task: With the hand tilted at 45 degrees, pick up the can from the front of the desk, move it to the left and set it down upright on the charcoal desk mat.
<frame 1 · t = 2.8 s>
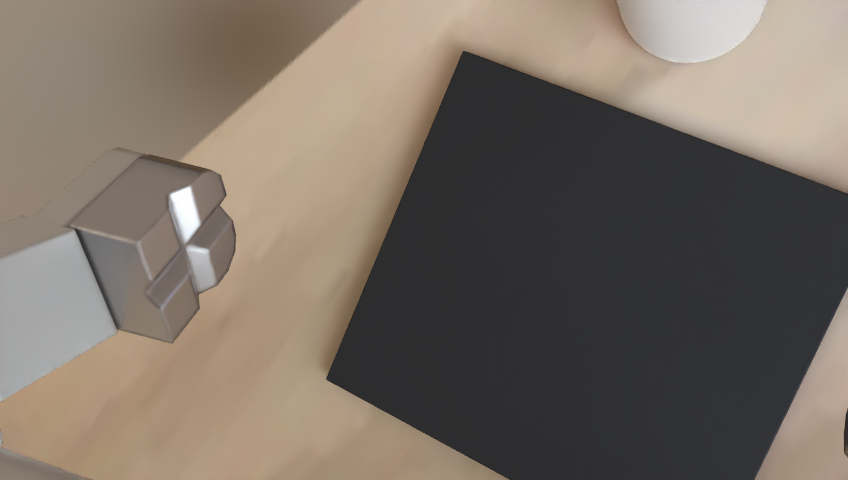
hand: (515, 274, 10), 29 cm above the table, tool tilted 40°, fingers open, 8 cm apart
desk mat: (578, 302, 38), on the table
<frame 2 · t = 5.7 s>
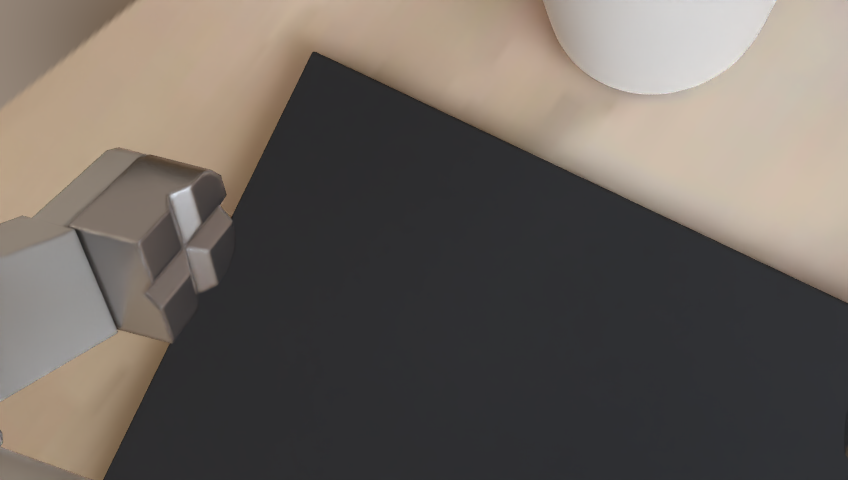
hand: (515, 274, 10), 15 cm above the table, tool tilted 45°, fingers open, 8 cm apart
desk mat: (459, 448, 25), on the table
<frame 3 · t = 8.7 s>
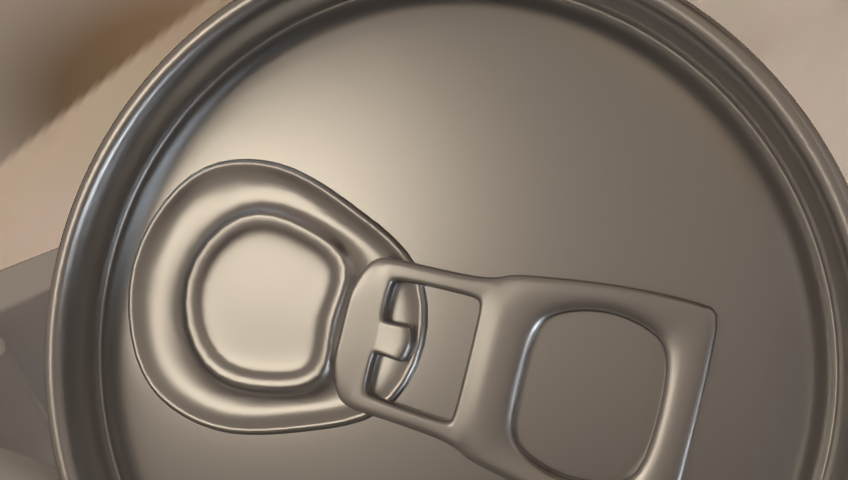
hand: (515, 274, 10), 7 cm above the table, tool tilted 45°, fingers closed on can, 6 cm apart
can: (564, 313, 17), on the table, touching gripper
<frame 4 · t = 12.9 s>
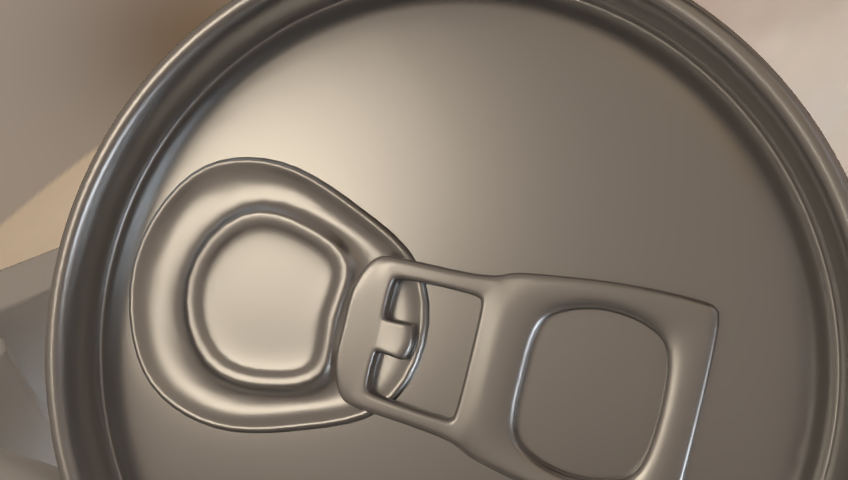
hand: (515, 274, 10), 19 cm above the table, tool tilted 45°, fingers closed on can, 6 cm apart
can: (564, 313, 17), point 12 cm above the table, touching gripper
when the fingers open (8 cm above the table, at t = 17.3 s): can stays where it is, resting on desk mat.
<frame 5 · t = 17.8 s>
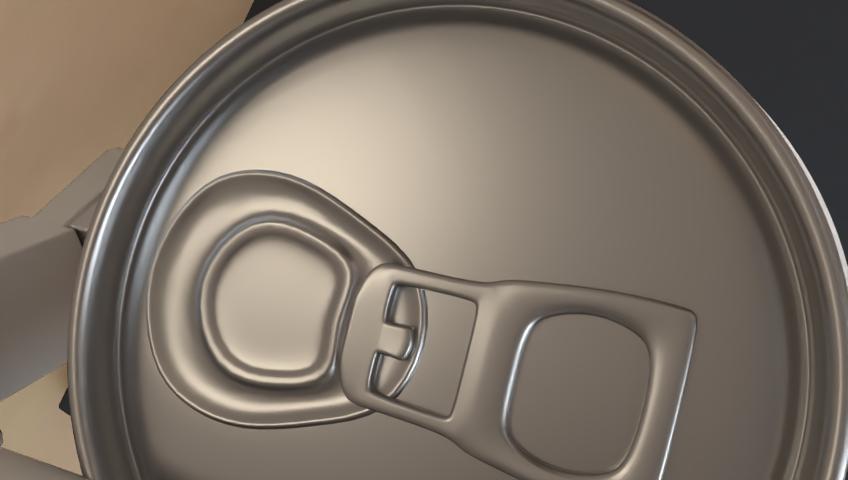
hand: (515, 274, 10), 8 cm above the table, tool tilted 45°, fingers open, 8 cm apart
can: (563, 315, 17), point 1 cm above the table, touching desk mat
desk mat: (582, 272, 18), on the table
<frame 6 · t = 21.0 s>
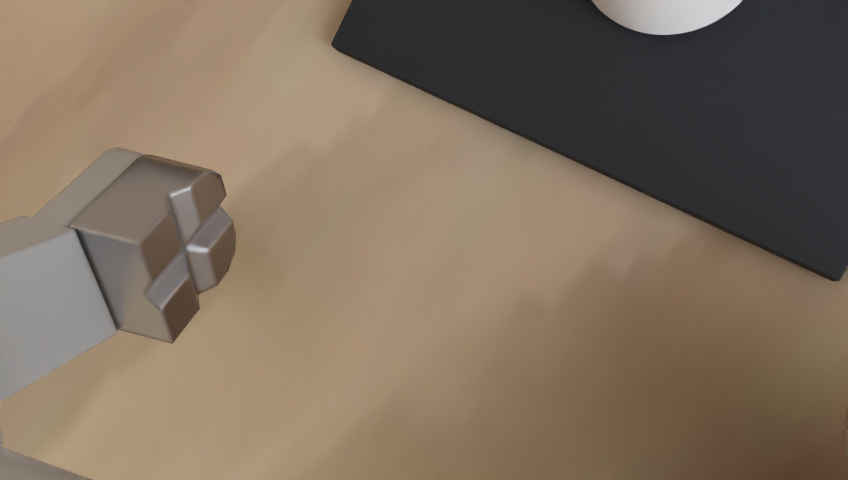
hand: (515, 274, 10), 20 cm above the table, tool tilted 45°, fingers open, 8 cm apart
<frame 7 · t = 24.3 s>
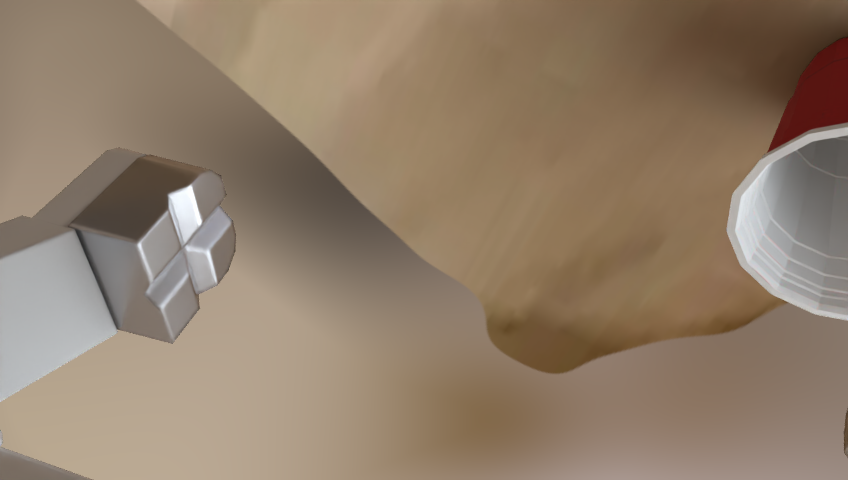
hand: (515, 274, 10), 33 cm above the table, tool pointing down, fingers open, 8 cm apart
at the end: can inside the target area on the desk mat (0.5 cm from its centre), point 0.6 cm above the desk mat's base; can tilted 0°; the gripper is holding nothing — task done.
